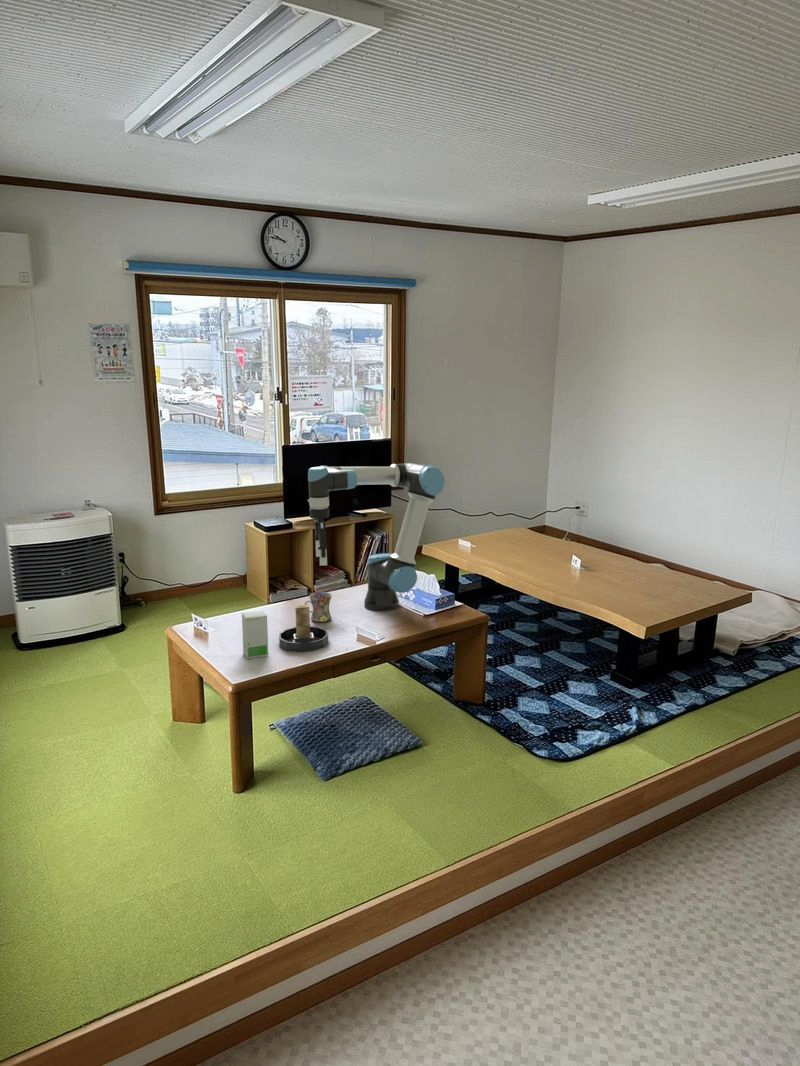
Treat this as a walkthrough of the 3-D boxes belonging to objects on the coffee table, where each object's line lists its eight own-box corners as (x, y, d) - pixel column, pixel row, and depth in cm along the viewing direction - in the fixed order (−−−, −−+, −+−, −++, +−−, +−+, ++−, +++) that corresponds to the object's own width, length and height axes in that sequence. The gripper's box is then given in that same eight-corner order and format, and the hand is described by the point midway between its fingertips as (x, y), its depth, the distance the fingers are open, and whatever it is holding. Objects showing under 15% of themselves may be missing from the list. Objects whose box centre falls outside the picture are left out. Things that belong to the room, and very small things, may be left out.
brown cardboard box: (309, 639, 286) (308, 604, 283) (310, 642, 284) (309, 607, 281) (296, 640, 285) (295, 605, 282) (297, 643, 283) (295, 608, 280)
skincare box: (246, 659, 269) (244, 618, 266) (242, 653, 275) (240, 612, 272) (269, 655, 273) (267, 615, 269) (265, 649, 279) (263, 609, 275)
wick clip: (313, 638, 288) (312, 632, 287) (314, 643, 283) (314, 637, 282) (293, 640, 286) (293, 634, 286) (294, 645, 281) (293, 638, 281)
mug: (325, 614, 317) (324, 590, 314) (336, 620, 309) (335, 596, 307) (300, 620, 310) (299, 595, 308) (310, 626, 303) (310, 601, 300)
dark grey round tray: (325, 633, 295) (324, 624, 294) (330, 649, 278) (330, 640, 277) (278, 636, 292) (278, 628, 291) (280, 654, 274) (280, 645, 273)
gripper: (306, 502, 299) (308, 553, 304) (312, 514, 275) (315, 569, 280) (325, 501, 301) (327, 552, 305) (333, 513, 277) (335, 568, 282)
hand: (321, 560), depth 293 cm, fingers open, 13 cm apart
